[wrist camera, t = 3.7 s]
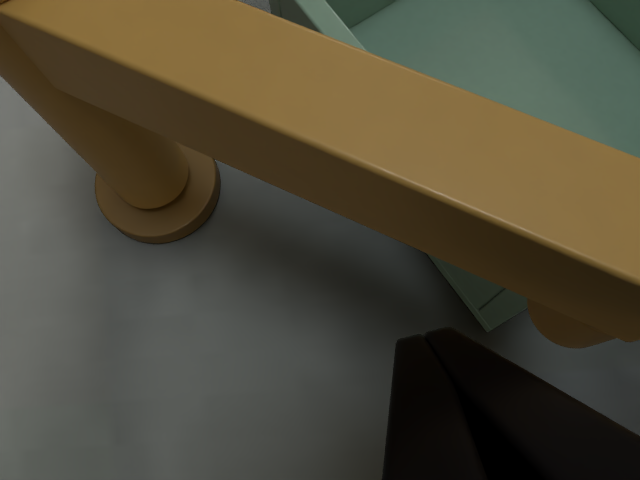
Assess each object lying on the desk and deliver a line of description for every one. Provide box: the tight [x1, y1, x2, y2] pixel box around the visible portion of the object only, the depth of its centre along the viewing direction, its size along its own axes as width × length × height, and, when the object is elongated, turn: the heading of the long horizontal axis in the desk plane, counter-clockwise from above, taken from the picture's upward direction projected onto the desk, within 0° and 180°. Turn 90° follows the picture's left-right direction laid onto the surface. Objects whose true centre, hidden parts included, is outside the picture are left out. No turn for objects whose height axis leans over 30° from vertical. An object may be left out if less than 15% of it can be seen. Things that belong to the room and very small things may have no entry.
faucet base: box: [95, 142, 220, 243], centre depth 20 cm, size 4×4×1 cm
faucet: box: [0, 0, 640, 348], centre depth 13 cm, size 16×3×11 cm, turn 64°
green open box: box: [269, 0, 640, 332], centre depth 18 cm, size 12×11×5 cm
